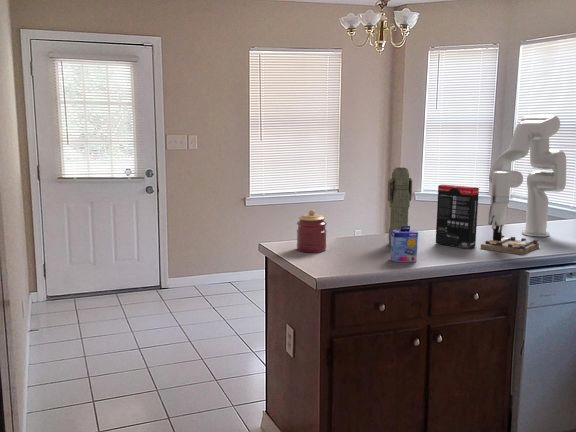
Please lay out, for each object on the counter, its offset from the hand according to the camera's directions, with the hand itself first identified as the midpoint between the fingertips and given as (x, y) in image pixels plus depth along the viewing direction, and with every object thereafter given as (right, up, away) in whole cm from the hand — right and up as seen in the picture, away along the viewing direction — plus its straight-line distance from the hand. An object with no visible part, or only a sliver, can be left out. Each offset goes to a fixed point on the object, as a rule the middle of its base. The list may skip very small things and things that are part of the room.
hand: (497, 240), depth 251 cm
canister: (-83, -4, -4) cm, 83 cm away
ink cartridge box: (-46, -7, -24) cm, 53 cm away
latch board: (+6, -3, 0) cm, 7 cm away
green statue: (-43, -2, +7) cm, 43 cm away
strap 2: (+10, -2, -4) cm, 11 cm away
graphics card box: (-17, -3, +5) cm, 18 cm away
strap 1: (+2, -1, +3) cm, 4 cm away
